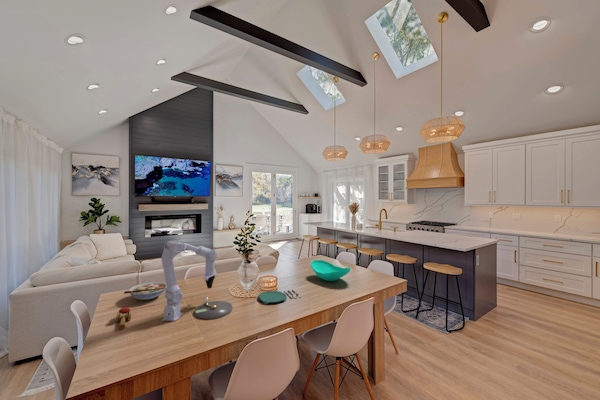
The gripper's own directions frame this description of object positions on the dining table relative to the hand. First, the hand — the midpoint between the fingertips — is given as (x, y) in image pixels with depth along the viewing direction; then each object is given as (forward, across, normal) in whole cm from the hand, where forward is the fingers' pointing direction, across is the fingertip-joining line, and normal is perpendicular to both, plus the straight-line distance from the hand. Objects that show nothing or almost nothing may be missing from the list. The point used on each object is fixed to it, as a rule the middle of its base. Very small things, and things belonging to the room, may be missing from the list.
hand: (209, 287), depth 163 cm
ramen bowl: (+11, +8, +44) cm, 46 cm away
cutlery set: (+11, +11, -46) cm, 48 cm away
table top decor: (+11, +52, -88) cm, 102 cm away
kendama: (+11, -26, +38) cm, 48 cm away
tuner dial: (+10, -10, -6) cm, 16 cm away
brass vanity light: (+9, -9, -3) cm, 12 cm away
